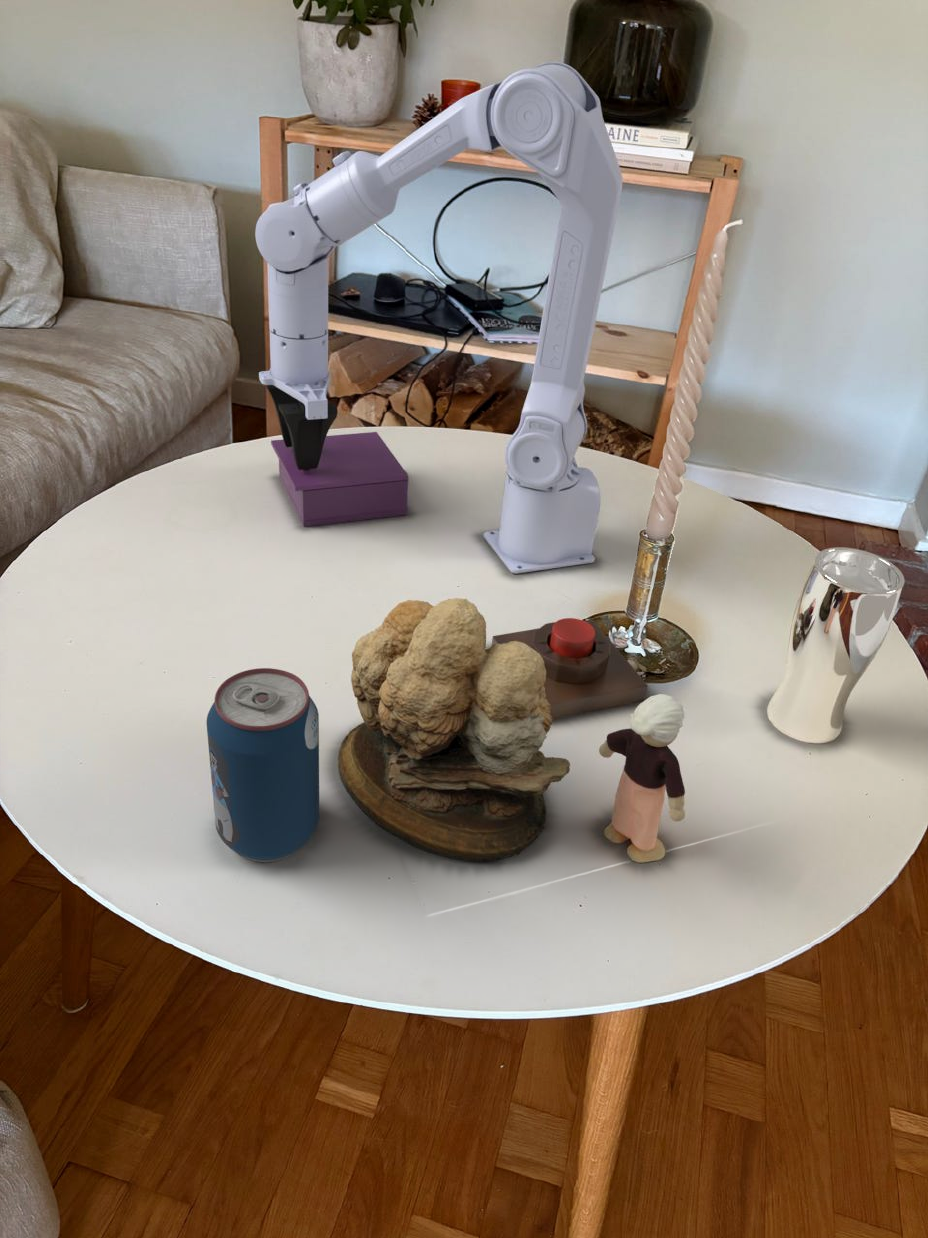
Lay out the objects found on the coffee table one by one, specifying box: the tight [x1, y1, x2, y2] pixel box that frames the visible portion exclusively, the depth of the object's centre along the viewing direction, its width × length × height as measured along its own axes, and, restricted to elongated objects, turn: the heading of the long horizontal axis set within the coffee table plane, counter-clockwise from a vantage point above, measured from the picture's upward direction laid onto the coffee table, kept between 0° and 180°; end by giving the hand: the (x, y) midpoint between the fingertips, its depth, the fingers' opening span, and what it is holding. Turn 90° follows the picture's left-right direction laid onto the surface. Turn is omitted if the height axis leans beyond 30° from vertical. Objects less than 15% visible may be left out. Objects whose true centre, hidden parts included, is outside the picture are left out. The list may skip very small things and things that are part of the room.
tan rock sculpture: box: [337, 597, 571, 862], centre depth 66 cm, size 18×12×17 cm, turn 56°
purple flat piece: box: [270, 431, 409, 491], centre depth 103 cm, size 12×11×4 cm
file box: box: [278, 459, 409, 527], centre depth 105 cm, size 11×11×4 cm
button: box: [550, 617, 595, 659], centre depth 81 cm, size 4×4×2 cm
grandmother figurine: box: [598, 693, 686, 864], centre depth 65 cm, size 8×4×13 cm, turn 48°
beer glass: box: [766, 546, 905, 745], centre depth 76 cm, size 7×7×15 cm
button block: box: [491, 619, 649, 720], centre depth 82 cm, size 10×10×4 cm
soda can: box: [206, 667, 320, 863], centre depth 62 cm, size 7×7×12 cm
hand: (300, 456), depth 102 cm, fingers closed on purple flat piece, 5 cm apart
